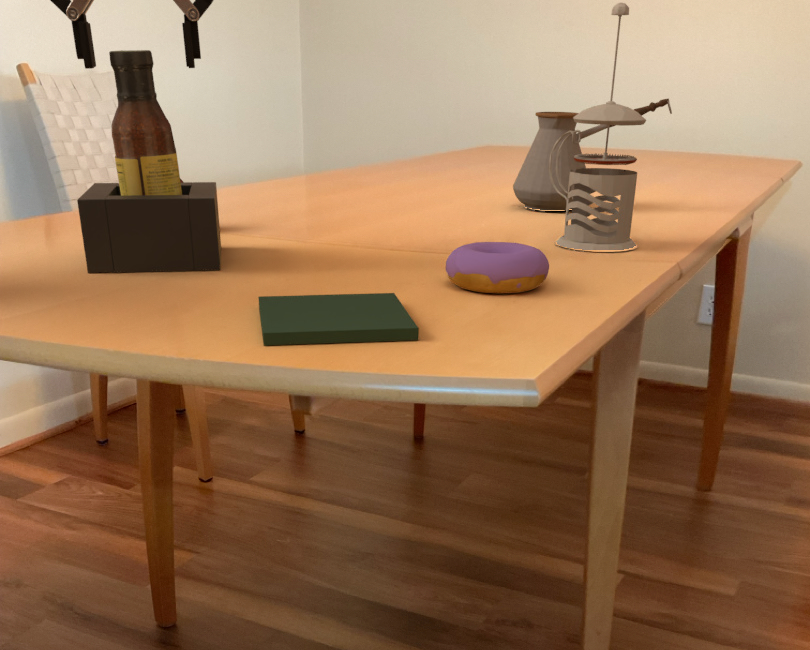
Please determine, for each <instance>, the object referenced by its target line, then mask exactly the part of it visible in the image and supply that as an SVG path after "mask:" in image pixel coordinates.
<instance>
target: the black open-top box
mask: <svg viewBox="0 0 810 650" xmlns="http://www.w3.org/2000/svg"><path fill="white" fill-rule="evenodd" d="M181 190H182V195H131V196H121V192H120V186H119V182H94V183H93V184H92V185H91V186H90V187H89V188H87V190H86V191H84V193H83V194H82V195H80V197H79V198H77V199H76V202H77V208H78V215H79V216H78V217H79V222H80V228H81V237H82V242H83V250H84V257H85V263H86V269H87V274H100V273H99V272H102V273H101V274H104V272H112V273H115V272H116V273H152V272H153V273H154V272H155V273H157V272H159V273H160V272H161V273H162V272H196V271H198V272H201V271H204V272H205V271H220V270H221V263H222V261H221V260H222V259H221V258H222V240H221V227H220V218H219V216H220V215H219V203H218V189H217V182H216V181H214V182H213V181H198V182H197V181H195V182H194V181H193V182H191V181H183V182H181Z"/></svg>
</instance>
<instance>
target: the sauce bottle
mask: <svg viewBox="0 0 810 650" xmlns="http://www.w3.org/2000/svg"><path fill="white" fill-rule="evenodd" d="M108 54H109V62H110V66H111V69H112V70H113V74H114V75H113V76H114V81H115V87H116V98H117V107H116V110H115V113H114V115H113V119H112V120H111V138H112V142H113V149H114V153H115V154H114V155H115V156H114V160H115V161H114V162H115V167H116V173H117V179H118V183H119V186H120V192H121V196H131V195H182V190H181V182H180V179H181V175H180V168H179V161H178V154H177V153H178V152H177V147H176V146H175V145H176V143H175V140H174V135H173V130H172V125H171V123H170V121H169V120H168V118H167V116H166V115H165V113H164V110H163V109H162V107H161V105H160V103H159V101H158V98H157V97H158V96H157V92H156V88H155V81H154V73H153V68H154V64H155V63H154V59H153V58H154V57H153V53H152V51H151V50H149V49H144V50H143V49H141V50H140V49H137V50H135V49H134V50H133V49H132V50H131V49H130V50H111V51H109V53H108Z"/></svg>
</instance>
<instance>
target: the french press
mask: <svg viewBox="0 0 810 650" xmlns="http://www.w3.org/2000/svg"><path fill="white" fill-rule="evenodd" d="M610 15H611V16H617V17H618V22H617V32H616V42H615V51H614V62H613V71H612V79H611V80H612V81H611V92H610V100H609V101H606V102H605V103H602V104H598V105H593V106H591V107H588V108H586V109H583V110H581V111H580V112H578V113H579V114H577V115H576V116H574V117H573V119H574V121H575V122H576V123H577V124H585V125H608V128H606V129H607V130H606V139H605V149H604V152H603V153H596V152H595V153H582V154H578V155H575V156H574V160H575V161H576V162H580V163H585V165H597V166H598V165H599V166H600V165H601V166H627V165H632V164H635V163H636V162H637V161H638V158H637V157H635V155H629V154H627V155H626V154H616V153H615V154H613V153H612V154H611V153H609V154H608V144H609V136H610V128H611V127H610V125H616V126H620V127H621V126H643V125H645V124H646V122H647V119H646V118H645V117H644V116H643V115H642V116H641V115H640V114H639V113H638V112H636V111H635V110H634V109H633V108H632V107H629V106H626V105H622V104H619V103H616V102H615V101H613V98H614V89H615V87H614V86H615V80H616V79H615V77H616V68H617V60H618V50H619V39H620V29H621V22H622V17H623V16H629V15H630V7H629V5H628V4H627V3H626V2H618V3H616V4H614V5H613V6H612V9H611V14H610ZM609 127H610V128H609ZM581 132H582V131H581V130H580V129H575V131H574V132H573V131H571V130H570V131H569V132H567V133H565V134H564V135H562V136H561V137H560V138H559V139H558V140H557V141H556V143H555V145H554V147H553V149H552V151H551V155H550V162H549V174H550V179H551V182H552V185H553V187H554V188H555V190H556V191H557V192H558V193H559V194H560V195H561V196H563V197H564V198H565V199H566V201H567V202H566V212H565V217H564V228H563V229H564V230H563V231H564V232H563V235H561V236H560V237H559V238H558V239H556V241H555V242H557V244H558V245H560V246H563V247H567V248H574V249H582V250H624V249H629V248H633V247H634V246H636V245H637V244H636V243H635V241H634V240H633V239H632V238H631V231H632V222H633V215H634V205H635V198H636V190H637V189H636V188H637V180H638V172H637V171H636V170H629V169H622V168H611V167H610V168H607V167H586V168H581V169H576V173H574V172H573V170H570V175H569V186H568V191H567V190H566V189H565V188H564V187H563V185H562V184H561V181H560V178H559V172H558V161H559V154H560V151H561V148H562V146H563V144H564V142H565V141H566V140H567V139H568V138H569V137H570V136H571V135H572V142H573V143H574V144H578V143H579V144H580V143H581V140H582V139H581V135H582V133H581ZM569 133H571V134H569ZM575 133H576V134H577V133H579V140H578V142H575V141H574V140H575ZM567 134H569V135H568V136H567V137H566V138H565V139H564V140H563V142H562V144H561V146H560V148H559V150H558V153H557V161H556V173H557V178H558V182H559V185H560V186H561V188H562V189H563V190H564V192H566V193H567V194H568V197H566V196H565V195H563V194H562V193H561V192H559V190H558V189H557V188H556V186H555V185H554V182H553V179H552V172H551V164H552V155H553V153H554V150H555V148H556V146H557V144H558V142H559V141H560V140H561V139H562V138H563V137H564V136H566V135H567ZM572 184H574V190H572V191H571V185H572ZM596 192H597V193H598V194H600V195H597V196H594V195H593V194H594V193H596ZM618 196H619V197H620V199H619V198H618ZM570 197H572V199H573V202H570ZM593 204H594V205H596V207H591V205H593ZM570 208H572V211H571V213H570V211H569V209H570ZM617 209H618V210H617ZM607 213H608V214H607ZM590 216H593V217H594V218H589V217H590ZM616 220H617V221H616ZM569 221H570V224H569Z"/></svg>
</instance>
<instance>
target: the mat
mask: <svg viewBox="0 0 810 650" xmlns="http://www.w3.org/2000/svg"><path fill="white" fill-rule="evenodd" d="M258 310H259V319H260V327H261V334H262V343H263V346H290V345H291V346H292V345H293V346H294V345H319V344H320V345H321V344H346V343H347V344H349V343H375V342H376V343H378V342H379V343H381V342H402V341H403V342H405V341H406V342H408V341H419V338H420V337H419V334H420V333H419V332H420V331H419V330H420V328H419V326H418V325H417V323H416V322H415V321H414V319H413V318H412V316H411V315H410V313H409V312H408V311H407V309H406V308H405V306H404V305H403V304H402V302H401V301H400V299H399V297H398V296H397V294H396V293H395V292H379V293H378V292H377V293H376V292H375V293H374V292H373V293H342V294H341V293H337V294H336V293H335V294H302V295H266V296H258Z"/></svg>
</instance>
